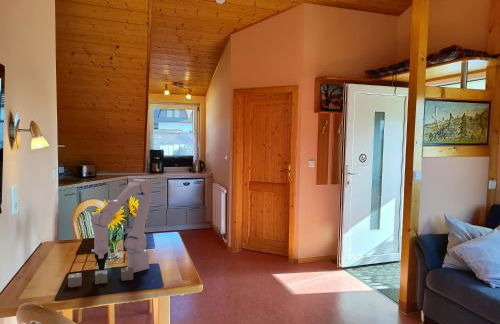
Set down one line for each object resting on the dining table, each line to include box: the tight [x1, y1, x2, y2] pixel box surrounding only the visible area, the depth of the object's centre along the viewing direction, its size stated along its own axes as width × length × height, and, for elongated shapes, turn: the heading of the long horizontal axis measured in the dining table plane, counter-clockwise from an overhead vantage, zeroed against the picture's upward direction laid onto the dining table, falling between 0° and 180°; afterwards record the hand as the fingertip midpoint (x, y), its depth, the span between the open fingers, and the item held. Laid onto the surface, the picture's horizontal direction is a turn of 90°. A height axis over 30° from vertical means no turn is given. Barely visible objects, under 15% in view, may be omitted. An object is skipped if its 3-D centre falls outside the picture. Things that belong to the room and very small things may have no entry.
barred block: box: [120, 267, 134, 282], centre depth 165 cm, size 5×5×4 cm
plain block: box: [94, 269, 108, 285], centre depth 161 cm, size 5×5×4 cm
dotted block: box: [67, 272, 83, 289], centre depth 157 cm, size 5×5×4 cm
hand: (101, 269), depth 161 cm, fingers closed
